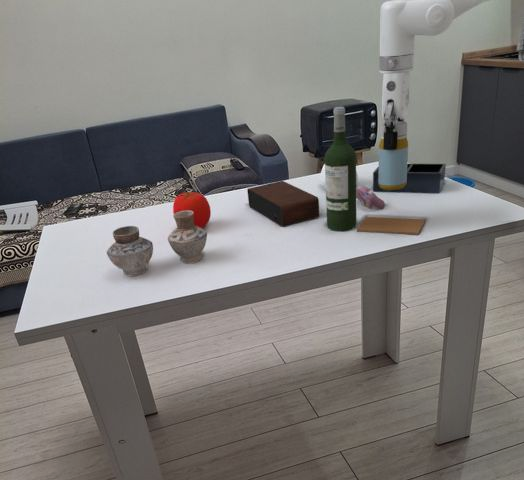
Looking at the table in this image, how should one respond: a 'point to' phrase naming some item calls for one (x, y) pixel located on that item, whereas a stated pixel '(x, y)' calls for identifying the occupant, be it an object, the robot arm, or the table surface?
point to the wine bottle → (340, 178)
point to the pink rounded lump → (369, 198)
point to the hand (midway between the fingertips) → (393, 144)
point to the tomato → (193, 207)
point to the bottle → (393, 160)
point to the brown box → (283, 203)
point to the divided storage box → (418, 179)
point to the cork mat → (391, 225)
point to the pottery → (140, 249)
